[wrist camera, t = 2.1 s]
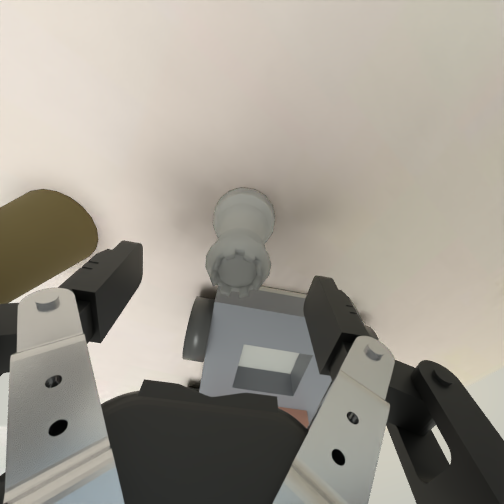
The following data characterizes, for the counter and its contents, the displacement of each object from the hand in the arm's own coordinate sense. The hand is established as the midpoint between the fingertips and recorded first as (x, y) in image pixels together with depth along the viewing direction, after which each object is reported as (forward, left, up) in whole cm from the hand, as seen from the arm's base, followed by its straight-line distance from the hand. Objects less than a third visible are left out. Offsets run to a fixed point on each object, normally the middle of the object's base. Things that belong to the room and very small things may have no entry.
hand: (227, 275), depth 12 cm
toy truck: (-5, +16, -8) cm, 19 cm away
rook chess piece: (0, 0, -8) cm, 8 cm away
